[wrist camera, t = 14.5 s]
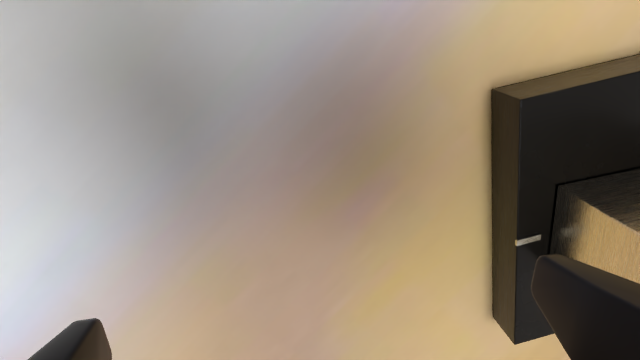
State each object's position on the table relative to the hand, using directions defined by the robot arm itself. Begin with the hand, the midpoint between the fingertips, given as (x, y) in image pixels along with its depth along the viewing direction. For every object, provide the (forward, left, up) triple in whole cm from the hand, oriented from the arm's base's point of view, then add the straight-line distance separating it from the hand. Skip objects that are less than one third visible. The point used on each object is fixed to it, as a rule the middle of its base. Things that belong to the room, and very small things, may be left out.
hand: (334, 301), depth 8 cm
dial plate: (+6, +19, -13) cm, 24 cm away
